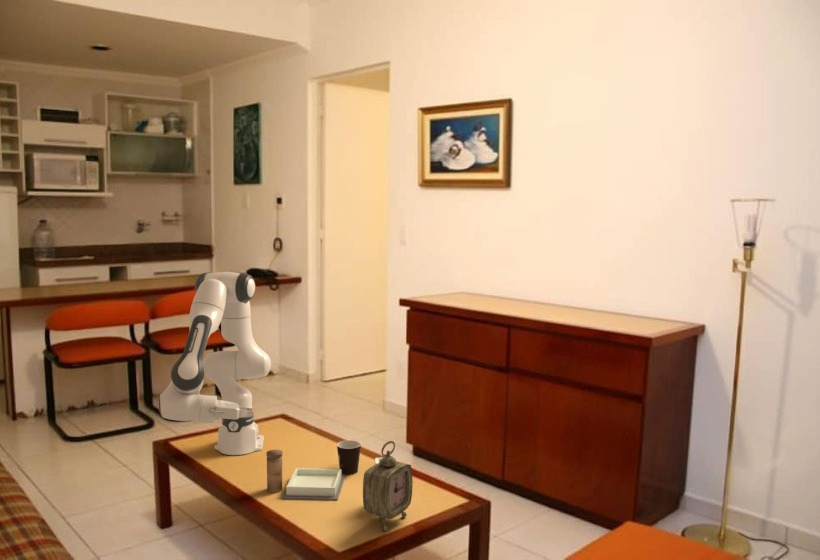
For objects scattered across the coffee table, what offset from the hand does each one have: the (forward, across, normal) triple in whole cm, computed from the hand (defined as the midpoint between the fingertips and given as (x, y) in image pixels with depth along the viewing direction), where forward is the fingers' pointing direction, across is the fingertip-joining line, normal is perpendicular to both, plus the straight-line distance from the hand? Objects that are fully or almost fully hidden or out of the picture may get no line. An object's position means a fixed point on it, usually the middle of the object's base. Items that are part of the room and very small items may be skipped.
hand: (252, 412), depth 225 cm
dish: (+24, 0, +23) cm, 33 cm away
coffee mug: (+37, +12, +19) cm, 44 cm away
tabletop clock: (+42, -30, +27) cm, 58 cm away
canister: (+10, +1, +25) cm, 27 cm away
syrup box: (+43, -18, +24) cm, 53 cm away
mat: (+24, 0, +23) cm, 33 cm away
